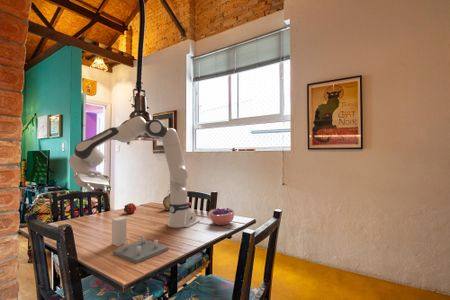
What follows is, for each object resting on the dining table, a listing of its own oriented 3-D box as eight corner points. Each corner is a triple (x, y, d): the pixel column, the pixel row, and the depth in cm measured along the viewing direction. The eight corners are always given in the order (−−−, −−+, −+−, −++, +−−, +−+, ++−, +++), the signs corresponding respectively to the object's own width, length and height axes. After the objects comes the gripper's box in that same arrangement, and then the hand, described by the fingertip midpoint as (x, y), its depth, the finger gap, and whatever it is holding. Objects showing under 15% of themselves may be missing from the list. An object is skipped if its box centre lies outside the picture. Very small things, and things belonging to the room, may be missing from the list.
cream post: (120, 241, 133) (120, 217, 133) (126, 243, 130) (126, 218, 130) (111, 244, 129) (112, 219, 129) (117, 246, 126) (117, 220, 126)
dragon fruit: (125, 217, 186) (132, 215, 198) (134, 210, 186) (141, 209, 198) (119, 208, 187) (126, 206, 199) (128, 201, 188) (135, 200, 200)
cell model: (239, 222, 170) (239, 205, 170) (224, 230, 153) (224, 211, 153) (218, 218, 179) (218, 202, 179) (202, 225, 162) (202, 208, 162)
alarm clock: (162, 211, 200) (163, 190, 200) (162, 209, 205) (162, 189, 205) (176, 210, 203) (176, 190, 203) (176, 208, 208) (176, 189, 208)
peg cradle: (144, 242, 132) (144, 232, 132) (168, 249, 122) (168, 239, 122) (112, 253, 117) (112, 243, 117) (136, 263, 107) (136, 251, 107)
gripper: (74, 168, 133) (87, 185, 128) (104, 173, 152) (116, 188, 146) (67, 177, 133) (79, 194, 128) (97, 181, 152) (109, 196, 147)
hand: (99, 191), depth 137 cm, fingers open, 8 cm apart
